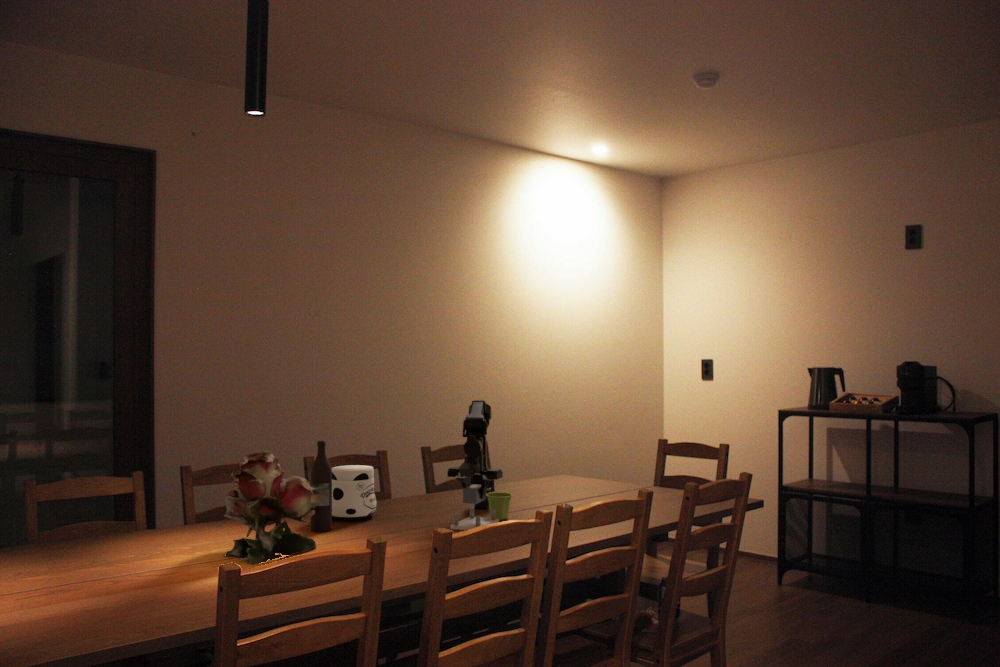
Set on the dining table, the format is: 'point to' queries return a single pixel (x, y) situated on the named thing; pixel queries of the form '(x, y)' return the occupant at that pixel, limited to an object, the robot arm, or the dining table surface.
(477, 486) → the grey rectangular block
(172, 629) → the dining table surface
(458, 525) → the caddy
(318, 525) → the wine bottle
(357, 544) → the dining table surface
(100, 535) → the dining table surface
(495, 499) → the plant pot
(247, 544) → the rose bouquet
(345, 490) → the milk container
